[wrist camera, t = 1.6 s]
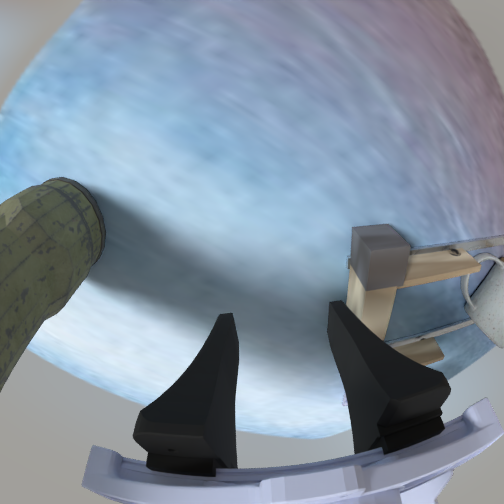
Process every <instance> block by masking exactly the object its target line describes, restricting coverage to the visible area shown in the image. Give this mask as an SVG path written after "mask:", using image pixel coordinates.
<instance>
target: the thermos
mask: <svg viewBox="0 0 504 504" xmlns="http://www.w3.org/2000/svg"><path fill="white" fill-rule="evenodd" d="M105 235H106V231H105V226H104V221H103V216H102V214H101V212H100V210H99V207H98V205H97V203H96V201H95V200H94V198H93V197H92V196H91V195H90V193H89V192H88V191H87V189H85V188H84V187H83V186H81V185H80V184H78V183H77V182H76V181H74V180H71V179H67V178H64V177H59V178H52V179H49V180H47V181H45V182H44V183H43V184H41V185H36V186H31V187H29V188H27V189H25V190H23V191H22V192H20V193H18V194H16V195H14V196H12V197H11V198H9V199H7V200H6V201H4V202H3V203H2V204H0V392H1V390H2V388H3V386H4V384H5V382H6V381H7V379H8V377H9V375H10V373H11V372H12V370H13V368H14V367H15V365H16V363H17V362H18V360H19V358H20V357H21V355H22V354H23V352H24V350H25V349H26V347H27V346H28V344H29V343H30V341H31V340H32V338H33V337H34V335H35V334H36V332H37V331H38V329H39V328H40V326H41V325H42V323H43V322H44V321H45V320H46V319H48V318H50V317H52V316H54V315H55V314H57V313H58V312H59V311H60V310H61V309H62V308H63V307H64V306H65V305H66V303H67V302H68V301H69V299H70V298H71V297H72V295H73V294H74V293H75V291H76V290H77V289H78V287H79V286H80V285H81V283H82V282H83V281H84V280H85V278H86V277H87V276H88V273H89V270H90V268H91V266H92V265H93V264H95V263H96V262H97V260H98V259H99V258H100V256H101V253H102V251H103V249H104V246H105Z"/></svg>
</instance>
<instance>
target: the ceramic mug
mask: <svg viewBox="0 0 504 504" xmlns="http://www.w3.org/2000/svg"><path fill="white" fill-rule="evenodd" d="M474 259H475V260H476V261H477V262H478V263H479V264H480V263H481V262H482V261H485V260H494V261H495V262H496V264H495V265H494V266H493V268H492V269H491V271H490V272H489V274H488V275H487V277H486V278H485V280H484V281H483V282H482V284H481V285H480V286H479V288H478V289H477V290H476V292H475V293H474V294H473V295H472V297H471V298H470V297H469V294H468V281H469V276H470V274H467V275H462V276H461V290H462V294H463V296H464V298H465V300H466V301H467V303H466V305H465V306H464V309H465V311H466V312H467V314H468V315H469V317H470V318H471V319H472V320H473V322H474V323H475V324H476V325H477V326H478V327H479V328H480V329H481V330H482V332H483V333H484V334H485V335H486V336H487V337H488V338H489V339H490V340H491V341H492V342H493V343H494V344H496V345H497V346H498V347H500V348H504V257H502V258H500V259H498V258H496V257H495V256H493V255H491V254H489V253H481V254H478V255H476V256H475V257H474Z"/></svg>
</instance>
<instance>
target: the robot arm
mask: <svg viewBox="0 0 504 504" xmlns="http://www.w3.org/2000/svg"><path fill="white" fill-rule="evenodd" d="M327 333H328V337H329V342H330V346H331V350H332V353H333V356H334V359H335V362H336V365H337V368H338V370H339V373H340V376H341V379H342V382H343V385H344V389H345V394H344V398H343V401H342V405H343V406H348V408H349V414H350V420H351V427H352V434H353V442H354V452H355V454H354V455H350V456H345V457H341V458H336V459H331V460H325V461H319V462H314V463H306V464H299V465H291V466H281V467H268V468H249V469H238V467H237V453H236V429H235V395H236V386H237V376H238V366H239V341H238V336H237V331H236V327H235V322H234V318H233V313H226V314H220V315H219V316H218V318H217V320H216V322H215V325H214V327H213V329H212V331H211V333H210V334H209V336H208V338H207V340H206V341H205V343H204V345H203V347H202V348H201V350H200V351H199V353H198V354H197V356H196V357H195V359H194V360H193V362H192V363H191V364H190V366H189V367H188V368H187V369H186V371H185V372H184V373H183V374H182V375H181V376H180V377H179V379H178V380H177V381H176V382H175V383H174V384H173V385H172V386H171V387H170V388H169V389H168V390H166V391H165V392H164V393H163V394H162V395H161V396H160V397H159V398H157V399H156V400H155V401H153V402H152V403H151V404H149V405H148V406H147V407H145V408H144V409H142V410H141V411H140V413H139V416H138V418H137V421H136V424H135V429H134V433H133V438H134V440H135V441H136V442H137V443H138V444H139V445H140V446H141V447H142V448H144V449H145V450H146V451H147V452H148V456H147V461H146V462H145V461H140V460H135V459H130V458H125V457H122V456H121V455H120V454H119V453H117V452H115V451H113V450H110V449H106V448H102V447H99V446H95V445H93V446H92V448H91V451H90V455H89V458H88V462H87V466H86V469H85V473H84V477H83V481H82V486H83V487H84V488H86V489H88V490H90V491H92V492H94V493H97V494H99V495H101V496H103V497H106V498H108V499H110V500H113V501H117V502H120V503H123V504H438V502H437V497H438V495H439V494H440V493H441V491H442V490H443V489H444V488H445V486H446V485H447V483H448V482H449V481H450V479H451V478H452V476H453V471H454V468H456V467H458V466H460V465H461V464H463V463H465V462H466V461H468V460H470V459H472V458H473V457H475V456H477V455H478V454H479V453H481V452H482V451H484V450H485V449H486V448H487V447H488V446H490V445H491V444H492V443H494V442H495V441H496V440H497V439H498V438H500V437H501V436H502V435H503V434H504V431H503V429H502V427H501V425H500V422H499V420H498V418H497V416H496V414H495V412H494V410H493V408H492V406H491V404H490V402H489V400H488V398H484V399H482V400H480V401H478V402H477V403H475V404H473V405H471V406H470V407H469V408H467V409H466V411H465V412H464V413H463V415H461V416H459V417H457V418H455V419H453V420H451V421H449V422H447V423H445V424H443V421H442V419H441V417H440V416H441V415H442V411H441V408H440V407H441V406H442V404H443V403H444V402H445V400H446V399H447V398H448V396H449V395H450V392H451V388H450V386H449V383H448V381H447V379H446V378H445V376H444V375H443V373H442V372H439V371H436V370H434V369H431V368H428V367H426V366H424V365H422V364H419V363H417V362H415V361H413V360H412V359H410V358H408V357H406V356H405V355H403V354H401V353H399V352H398V351H396V350H395V349H393V348H392V347H391V346H389V345H388V344H386V343H385V342H384V341H383V340H381V339H380V338H379V337H378V336H377V335H375V334H374V333H373V332H372V331H371V330H370V329H369V328H368V327H367V326H366V325H365V324H364V323H363V322H362V321H361V320H360V319H359V318H358V317H357V316H356V315H355V314H354V313H353V312H352V311H351V310H350V309H349V308H348V307H347V306H346V304H345V303H344V302H343V301H342V300H340V301H333V302H329V316H328V328H327Z"/></svg>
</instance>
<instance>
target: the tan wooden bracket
mask: <svg viewBox="0 0 504 504" xmlns="http://www.w3.org/2000/svg"><path fill="white" fill-rule="evenodd" d="M410 247H411V246H410V245H409V244H408V243H407V242H406V241H405V240H404V239H403V238H402V237H401V236H400V235H399V234H398V233H397V232H396V231H395V230H394V229H393V228H392V227H391V226H390V225H389V224H380V225H370V226H359V227H352V242H351V258H350V271H349V283H348V293H347V302H346V306H347V307H348V308H349V309H350V310H351V311H352V312H353V313H354V314H355V315H356V316H357V317H358V318H359V319H360V320H361V321H362V322H363V323H364V324H365V325H366V326H367V327H368V328H369V329H370V330H371V331H372V332H373V333H374V334H375V335H377V336H378V337H379V338H380V339H381V340H383V341H384V338H385V335H386V331H387V327H388V324H389V320H390V316H391V312H392V308H393V304H394V299H395V295H396V290H397V289H400V288H405V287H410V286H415V285H420V284H425V283H430V282H435V281H440V280H444V279H449V278H454V277H458V276H462V275H467V274H471V273H475V272H479V271H480V269H481V264H479V263H478V262H477V261H476V260H475V259H474V258H473V257H472V256H471V255H470V254H468V253H467V252H466V251H465V250H464V249H463V248H458V249H452V248H451V249H448V250H445V251H439V252H432V253H426V254H419V255H412V256H409V253H410ZM393 349H395V350H396V351H398V352H399V353H401V354H403V355H405V356H406V357H408V358H410V359H412V360H413V361H415V362H417V363H419V364H422V365H424V366H425V365H428V364H431V363H434V362H437V361H440V360H443V358H444V354H443V352H442V351H441V349H440V347H439V346H438V344H437V342H436V341H435V339H434V337H430V338H427V339H426V338H422V339H421V340H420V341H417V342H413V343H409V344H406V345H402V346H398V347H394V348H393Z"/></svg>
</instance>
